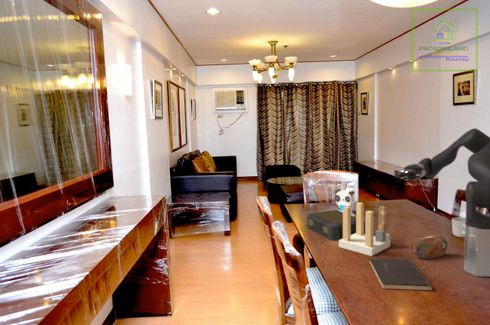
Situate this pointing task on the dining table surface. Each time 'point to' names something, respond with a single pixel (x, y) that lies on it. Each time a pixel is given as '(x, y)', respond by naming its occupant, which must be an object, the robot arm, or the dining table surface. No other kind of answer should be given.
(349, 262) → the dining table surface
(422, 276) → the hardcover book
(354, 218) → the cash box
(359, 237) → the stool
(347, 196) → the panda figurine
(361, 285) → the dining table surface
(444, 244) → the tin
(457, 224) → the cup
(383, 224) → the leg
